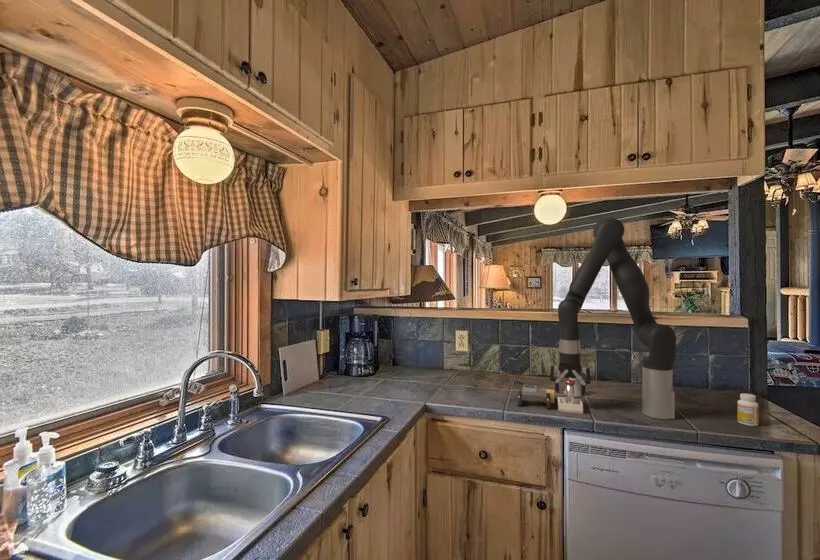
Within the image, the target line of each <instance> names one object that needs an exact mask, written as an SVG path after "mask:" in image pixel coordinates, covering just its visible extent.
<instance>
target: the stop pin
mask: <svg viewBox="0 0 820 560" xmlns="http://www.w3.org/2000/svg"><path fill="white" fill-rule="evenodd" d="M564 383H565V389H566V395H565V397H566V404H574V398H575V397H574V384H575V381H574V380H570V379H569V378H566V379H564Z"/></svg>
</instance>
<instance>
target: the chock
mask: <svg viewBox="0 0 820 560" xmlns="http://www.w3.org/2000/svg"><path fill="white" fill-rule="evenodd" d="M544 389H545V390H546V393H550V399H551V404H552V403H553V405H554V404H555V389H549V388H548V389H547V388H544ZM543 402H544V404H546V397H545V396H540V403H543Z"/></svg>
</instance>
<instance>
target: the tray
mask: <svg viewBox="0 0 820 560" xmlns="http://www.w3.org/2000/svg"><path fill="white" fill-rule="evenodd" d="M557 411H558V412H561V411H562V412H564V413H570V414H571V413H573V414H584V405H583V401H582V398H577V397H574V404H566V396H557Z"/></svg>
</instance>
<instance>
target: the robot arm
mask: <svg viewBox="0 0 820 560" xmlns="http://www.w3.org/2000/svg"><path fill="white" fill-rule="evenodd" d="M592 233H593V237H594V241H593V243H592V246H591V248H590V250H589V252H588V253H587V256H586V257H585V258H584V260H583V261H582V263H581V264H580V266H579V267H578V269H577V271H576V272H575V274H574V276H573V278H572V281H571V282H570V284H569V287H568V289H569V290H568V292H567V293H566V296H565V298H564V299H563V300H561V301H560V303H559V304H558V307H557V314H558V323H559V324H558V325H559V344H558V358H559V359H558V360H559V362H558V363H559V364H558V365H555V364H551V365H550V373H549V375H550V376H549V380H550V381H551V382H553V383H554V391H555V392H556V393H557V394H559V393H560V381H562V379H563V378H566V379H569V378H576V377H577V381H578V382H580V383H581V384H580V389H581V395H583V396H584V394H586V386H587V385H590V384H591V383H592V379H591V368H590V367H589V366H586V367H585V366H584V367H582V366H581V359H582V358H581V341H580V340H581V339H580V336H581V335H580V334H581V333H580V326H579V325H578V323H579V322H578V319H579V317H578V316H579V314H580V311H581V309H582V307H583V305H584V304H585V300H586V297H587V296H588V294H589V292H590V291H591V289H592V287H593V286H594V283H595V281H596V279H597V277H598V275H599V273H600V272H601V269H602V267H603V266H604V264H605V262H606V260H607V262H608V265H609V269H610V272H611V273H612V276H613V279H614V282H615V284H616V286H617V288H618V291H619V293H620V295H621V297H622V300H623V301H624V303H625V305H626V309H627V310H628V312H629V315H630V317H631V320H632V323H633V327H634V329H635V333H636V336H637V338H638V340H639V342H640V343H641V344H642V345H644V346H646V347H648V348H649V352H648V356H646V357H643V359H642V360H641V361H642V362H641V363H642V365H641V367H642V372H641V373H642V378H641V380H642V381H641V383H642V387H641V388H642V389H641V390H642V394H641V396H642V397H641V398H642V399H641V400H642V404H641V405H642V406H641V408H642V410H641V411H642V415H645V416H647V417H649V418H653V419H659V420H675V418H676V415H675V414H676V412H675V411H676V407H675V406H676V405H675V404H676V403H675V401H676V400H675V397H676V396H675V391H674V390H673V385H674V384H673V381H674V379H673V377H674V376H673V375H674V374H673V371H674V370H673V367H674V364H675V361H676V352H677V336H676V335H677V334H676V333H675V330H674V328H672V327H671V326H669V325H667V324H662V323H658V322H657V321H656V319H655V318H654V315H653V313H652V311H651V308H650V287H649V284H648V282H647V279H646V278H645V275H644V273H643V271H642V269H641V268H640V266H639V265H638V264H637V262H636V260H635V259H634V258H633V256H632V255H631V254H630V253H629V251H628V249H627V247H626V244H625V241H624V239H623V237H624V234H625V226H624V223H623V222H622V221H620V220H619V219H618V218H613V217H612V218H611V217H609V218H603V219H600V220H598V221H597V222H596V224H595V225H594V227H593V231H592ZM557 370H558V371H559V374H558V375H557V376H556V377H555V372H556V371H557ZM582 372H583V373H584V374H585V376H586V377H585V378H586V380H584V378H583V377H582V376H581V375H580V374H581V373H582Z"/></svg>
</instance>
